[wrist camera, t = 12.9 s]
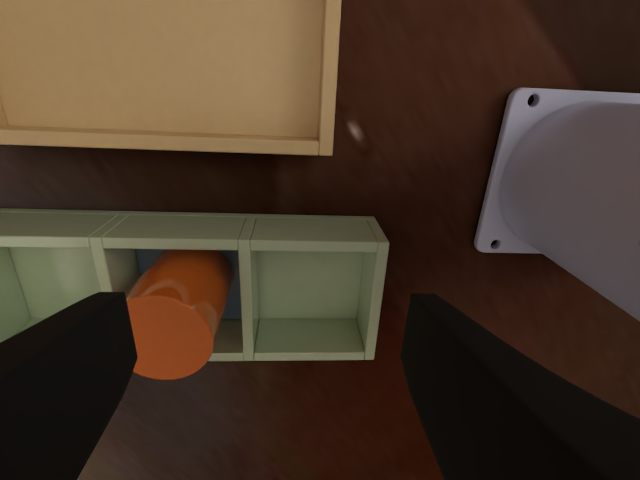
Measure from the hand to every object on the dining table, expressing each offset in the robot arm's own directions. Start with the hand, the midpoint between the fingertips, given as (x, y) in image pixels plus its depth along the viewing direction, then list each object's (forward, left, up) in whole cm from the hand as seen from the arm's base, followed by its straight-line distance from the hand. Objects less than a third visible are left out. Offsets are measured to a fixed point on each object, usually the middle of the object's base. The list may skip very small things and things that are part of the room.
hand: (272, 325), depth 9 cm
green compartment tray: (+5, +4, -9) cm, 11 cm away
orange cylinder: (+5, +4, -9) cm, 10 cm away
